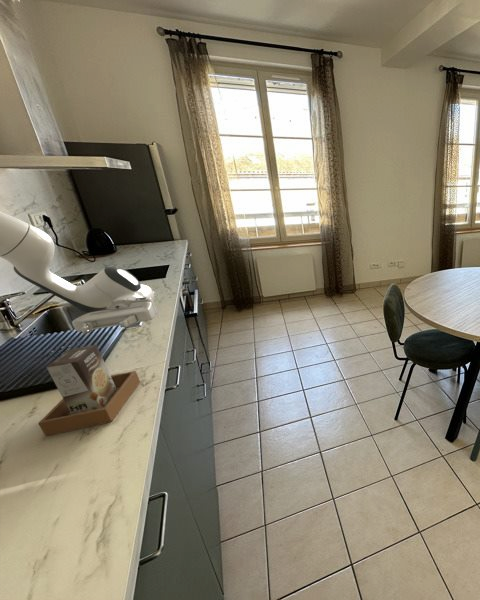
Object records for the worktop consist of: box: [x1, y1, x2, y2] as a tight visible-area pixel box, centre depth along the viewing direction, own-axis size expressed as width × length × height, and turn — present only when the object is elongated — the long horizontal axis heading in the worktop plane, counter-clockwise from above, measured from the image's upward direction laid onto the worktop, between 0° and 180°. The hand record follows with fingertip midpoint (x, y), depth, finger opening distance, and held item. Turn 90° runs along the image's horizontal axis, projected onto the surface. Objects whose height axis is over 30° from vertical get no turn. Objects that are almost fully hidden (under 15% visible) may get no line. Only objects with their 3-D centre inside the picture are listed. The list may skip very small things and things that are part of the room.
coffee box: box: [45, 344, 118, 415], centre depth 85 cm, size 9×6×16 cm
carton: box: [37, 370, 141, 437], centre depth 88 cm, size 14×18×4 cm
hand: (103, 328), depth 96 cm, fingers open, 8 cm apart
